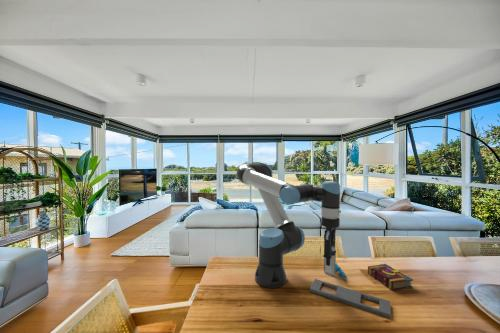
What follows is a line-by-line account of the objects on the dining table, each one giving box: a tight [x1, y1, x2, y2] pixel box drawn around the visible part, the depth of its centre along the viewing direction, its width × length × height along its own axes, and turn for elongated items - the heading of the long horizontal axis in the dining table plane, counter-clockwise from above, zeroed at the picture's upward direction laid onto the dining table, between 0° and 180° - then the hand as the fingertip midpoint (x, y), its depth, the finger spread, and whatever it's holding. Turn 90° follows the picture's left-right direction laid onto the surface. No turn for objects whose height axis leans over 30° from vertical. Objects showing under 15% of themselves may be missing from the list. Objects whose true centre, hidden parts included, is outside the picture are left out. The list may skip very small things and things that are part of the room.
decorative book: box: [367, 263, 414, 291], centre depth 105 cm, size 11×16×5 cm
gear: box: [335, 263, 348, 279], centre depth 108 cm, size 11×6×10 cm
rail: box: [309, 278, 392, 319], centre depth 90 cm, size 30×9×2 cm, turn 59°
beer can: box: [323, 246, 337, 277], centre depth 94 cm, size 5×5×12 cm
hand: (329, 269), depth 94 cm, fingers closed on beer can, 5 cm apart
